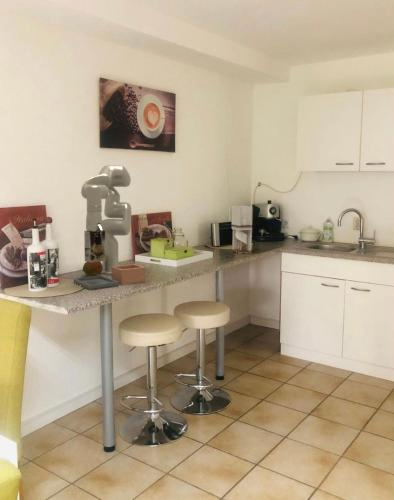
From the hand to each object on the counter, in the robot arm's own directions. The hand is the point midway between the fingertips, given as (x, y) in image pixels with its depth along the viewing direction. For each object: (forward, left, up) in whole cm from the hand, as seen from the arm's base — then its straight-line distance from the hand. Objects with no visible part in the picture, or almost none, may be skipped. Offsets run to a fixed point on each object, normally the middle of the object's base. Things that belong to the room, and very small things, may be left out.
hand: (94, 243), depth 258 cm
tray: (0, 0, -22) cm, 22 cm away
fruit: (-21, +8, -22) cm, 32 cm away
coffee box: (0, 0, -9) cm, 9 cm away
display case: (-35, +137, -22) cm, 143 cm away
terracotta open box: (+3, +18, -22) cm, 29 cm away
